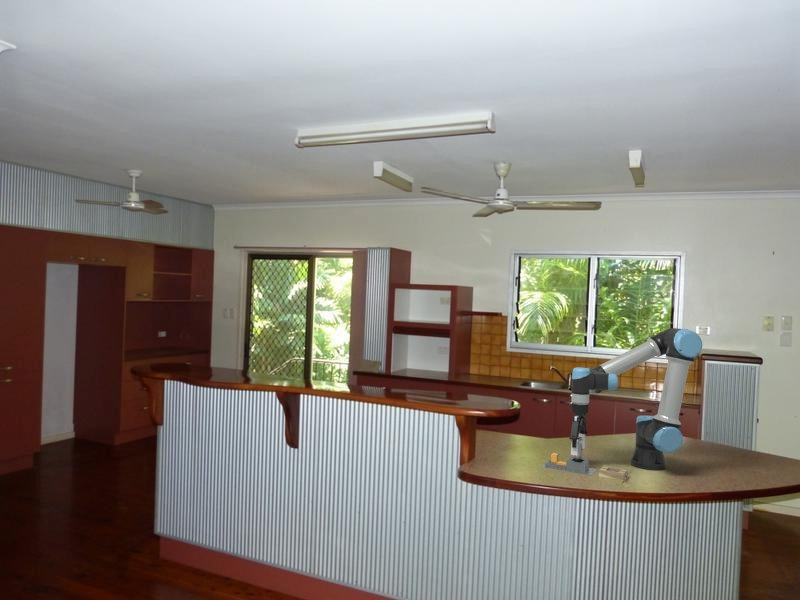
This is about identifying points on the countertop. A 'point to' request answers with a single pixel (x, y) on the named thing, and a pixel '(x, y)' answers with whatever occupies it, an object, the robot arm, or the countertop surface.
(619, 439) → the countertop surface
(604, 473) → the light wood square frame
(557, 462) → the orange block
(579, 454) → the peg
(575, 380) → the robot arm
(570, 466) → the socket station
